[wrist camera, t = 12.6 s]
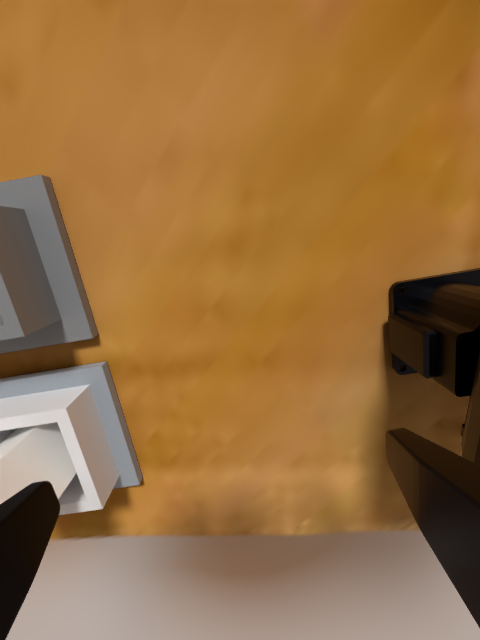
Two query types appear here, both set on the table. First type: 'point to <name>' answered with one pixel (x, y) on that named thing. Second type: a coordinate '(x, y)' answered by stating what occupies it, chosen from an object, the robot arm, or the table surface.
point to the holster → (38, 271)
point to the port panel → (76, 428)
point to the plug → (34, 460)
